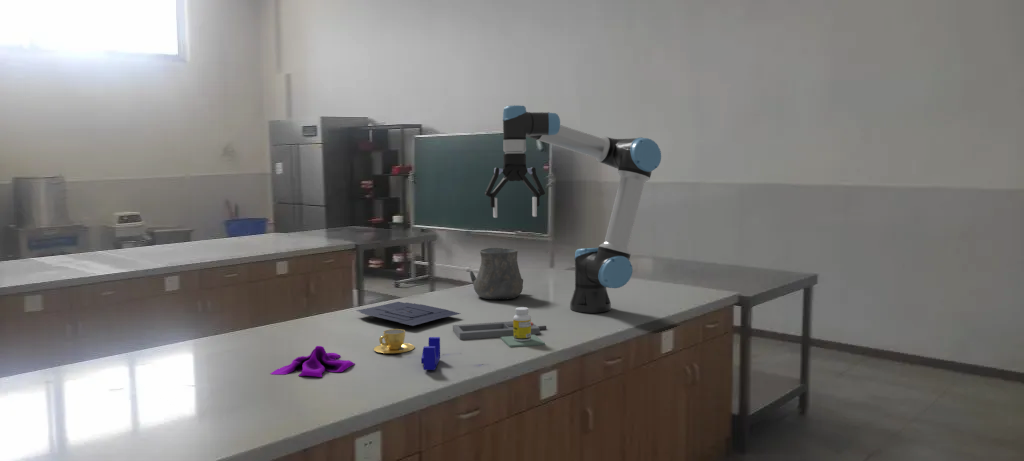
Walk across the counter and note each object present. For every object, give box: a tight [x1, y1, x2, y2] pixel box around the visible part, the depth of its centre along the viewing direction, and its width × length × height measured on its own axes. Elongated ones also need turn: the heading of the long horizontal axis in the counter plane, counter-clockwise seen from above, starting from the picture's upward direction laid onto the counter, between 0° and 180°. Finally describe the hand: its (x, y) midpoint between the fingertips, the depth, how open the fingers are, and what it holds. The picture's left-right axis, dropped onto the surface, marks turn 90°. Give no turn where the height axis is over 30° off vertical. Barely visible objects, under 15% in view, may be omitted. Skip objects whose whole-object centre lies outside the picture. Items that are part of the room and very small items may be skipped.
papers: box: [356, 301, 462, 327], centre depth 260 cm, size 24×30×4 cm
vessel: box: [469, 247, 524, 301], centre depth 298 cm, size 22×22×20 cm
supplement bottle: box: [512, 306, 532, 342], centre depth 227 cm, size 5×5×10 cm
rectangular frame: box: [452, 320, 547, 340], centre depth 240 cm, size 30×12×3 cm, turn 105°
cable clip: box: [420, 336, 441, 371], centre depth 204 cm, size 12×4×6 cm, turn 179°
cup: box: [373, 328, 416, 354], centre depth 220 cm, size 12×12×5 cm
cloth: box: [269, 345, 356, 378], centre depth 202 cm, size 22×19×6 cm
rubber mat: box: [500, 334, 546, 348], centre depth 228 cm, size 11×11×1 cm
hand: (515, 217), depth 247 cm, fingers open, 13 cm apart
